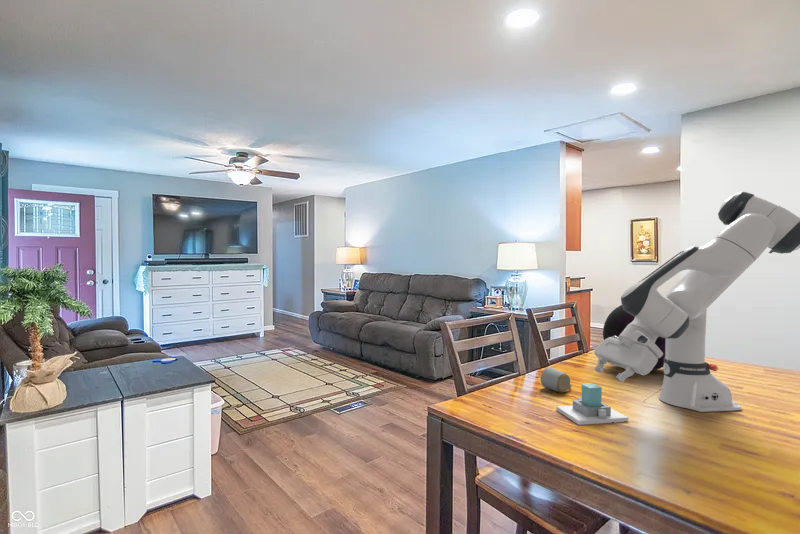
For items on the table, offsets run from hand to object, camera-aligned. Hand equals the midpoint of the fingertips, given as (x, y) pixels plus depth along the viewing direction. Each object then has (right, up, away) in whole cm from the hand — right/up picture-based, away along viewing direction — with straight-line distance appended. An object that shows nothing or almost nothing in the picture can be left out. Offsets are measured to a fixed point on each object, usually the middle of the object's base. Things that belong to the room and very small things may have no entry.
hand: (607, 375), depth 127 cm
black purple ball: (+42, -12, +55) cm, 70 cm away
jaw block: (-5, -11, 0) cm, 12 cm away
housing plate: (-5, -12, 0) cm, 13 cm away
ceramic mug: (-5, -12, +26) cm, 29 cm away
